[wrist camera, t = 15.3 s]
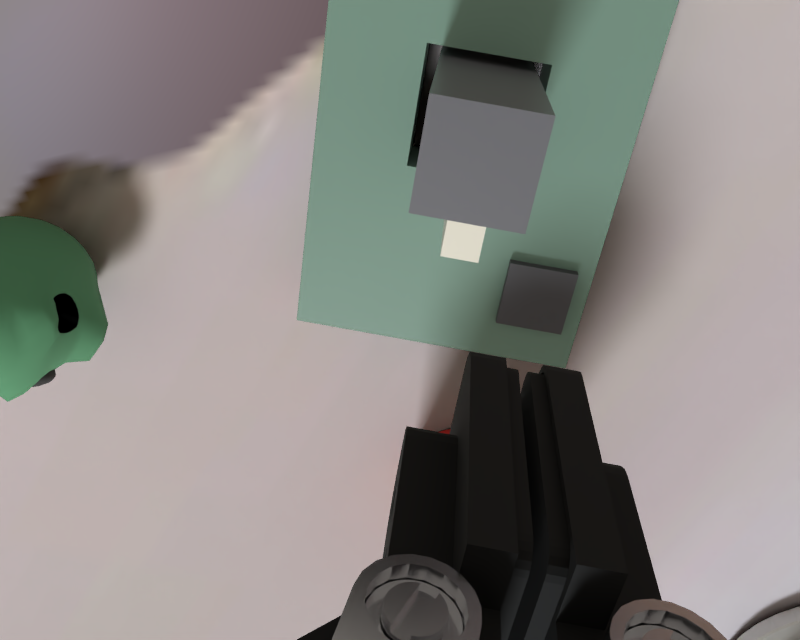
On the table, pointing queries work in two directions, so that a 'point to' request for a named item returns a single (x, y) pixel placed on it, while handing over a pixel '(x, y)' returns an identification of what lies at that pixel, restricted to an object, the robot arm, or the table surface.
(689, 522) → the table surface
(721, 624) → the table surface
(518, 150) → the keyed plug
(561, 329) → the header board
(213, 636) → the table surface
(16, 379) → the alien toy
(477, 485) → the robot arm
